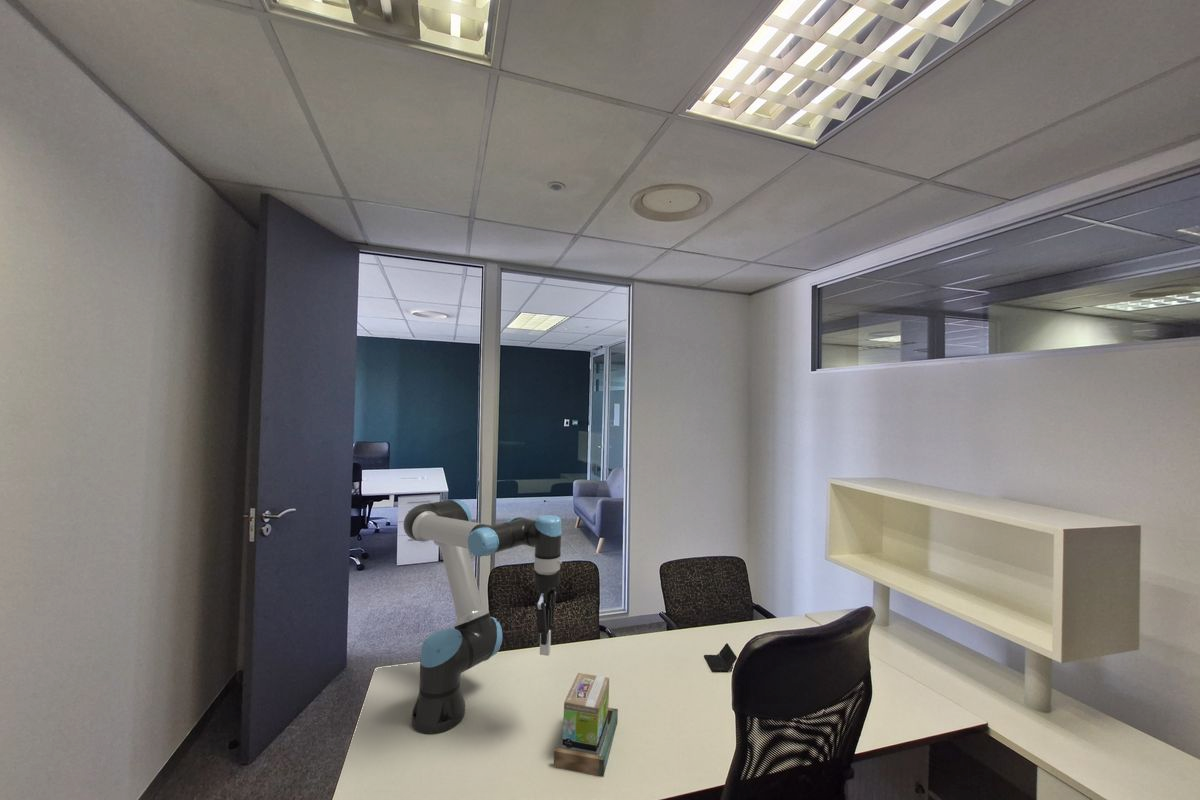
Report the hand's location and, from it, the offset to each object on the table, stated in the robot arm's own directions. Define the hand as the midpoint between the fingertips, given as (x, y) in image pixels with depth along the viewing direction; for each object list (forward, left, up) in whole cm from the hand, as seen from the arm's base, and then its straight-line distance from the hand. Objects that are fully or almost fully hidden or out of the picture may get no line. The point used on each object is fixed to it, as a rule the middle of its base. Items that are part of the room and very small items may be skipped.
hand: (544, 653), depth 127 cm
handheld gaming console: (+52, +51, -23) cm, 76 cm away
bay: (+13, 0, -23) cm, 26 cm away
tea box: (+13, 0, -23) cm, 26 cm away
